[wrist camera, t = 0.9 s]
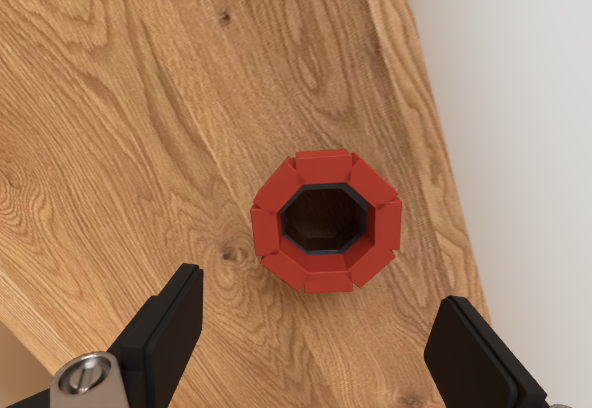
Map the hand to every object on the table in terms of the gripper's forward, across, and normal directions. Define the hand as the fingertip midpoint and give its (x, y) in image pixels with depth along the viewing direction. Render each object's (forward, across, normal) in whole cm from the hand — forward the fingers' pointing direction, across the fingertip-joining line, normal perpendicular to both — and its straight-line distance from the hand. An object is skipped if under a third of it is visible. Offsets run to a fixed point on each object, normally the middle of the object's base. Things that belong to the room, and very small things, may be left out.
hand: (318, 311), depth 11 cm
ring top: (+10, -1, 0) cm, 10 cm away
